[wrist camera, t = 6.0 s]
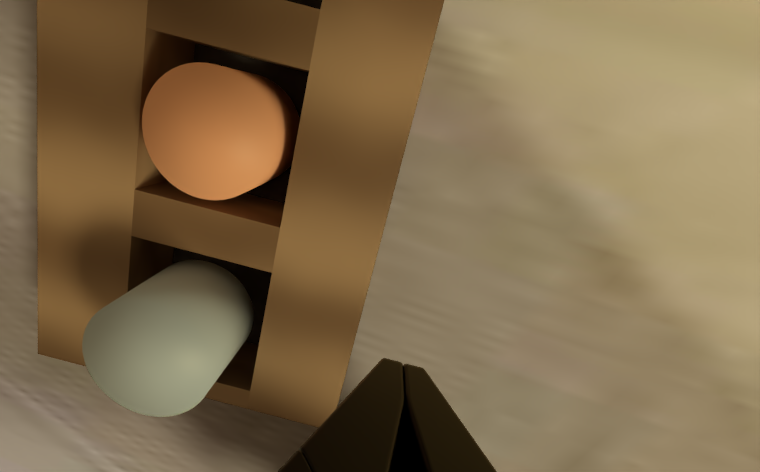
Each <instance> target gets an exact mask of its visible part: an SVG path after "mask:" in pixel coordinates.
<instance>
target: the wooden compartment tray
mask: <svg viewBox="0 0 760 472" xmlns="http://www.w3.org/2000/svg"><path fill="white" fill-rule="evenodd" d="M443 3H444V0H322V4H321V9H317V8H313V7H309V6H305V5H301V4H298V3H294V2H290V1H286V0H37V174H38V354H41V355H45V356H49V357H52V358H56V359H60V360H64V361H68V362H71V363H75V364H79V365H83V366H86V364H85V361H84V357H83V351H82V342H83V335H84V331H85V329H86V326H87V324H88V322H89V321H90V320H91V318H92V317H93V316H94V315H95V314H96V313H97V312H98V311H99V310H101V309H102V308H103V307H105V306H107V305H108V304H110V303H111V302H113V301H114V300H116V299H118V298H119V297H121V296H122V295H124V294H126V293H127V292H129V291H130V290H132V289H133V288H135V287H137V286H138V285H140V284H141V283H143V282H145V281H146V280H148V279H149V278H151V277H152V276H154V275H156V274H157V273H159V272H160V271H162V270H164V269H165V268H167V267H168V266H170V265H172V263H173V253H174V247H176V248H179V249H183V250H187V251H191V252H195V253H198V254H202V255H206V256H210V257H214V258H218V259H221V260H225V261H229V262H233V263H237V264H240V265H244V266H248V267H252V268H256V269H259V270H263V271H267V272H271V273H272V275H271V281H270V286H269V292H268V297H267V303H266V308H265V313H264V319H263V324H262V330H261V335H260V341H259V345H257V344H254V343H250V342H246V341H245V342H244V344H243V345H242V346H241V348H240V349H239V350H238V352H237V353H236V354H235V356H234V357H233V359H232V360H231V361H230V363H229V364H228V365H227V367H226V368H225V369H224V371H223V372H222V374H221V375H220V376H219V378H218V379H217V380H216V382H215V383H214V385H213V386H212V387H211V389H210V390H209V391H208V393H207V394H206V395H205V397H204V398H208V399H212V400H216V401H220V402H223V403H227V404H231V405H235V406H239V407H242V408H246V409H250V410H254V411H258V412H261V413H265V414H269V415H273V416H277V417H280V418H284V419H288V420H292V421H296V422H299V423H303V424H307V425H311V426H315V427H320V426H321V425H322V424H323V423H324V421H325V420H326V419H327V418H328V417H329V416H330V415H331V414H332V413H333V412H334V411H335V409H336V408H337V405H338V401H339V397H340V393H341V390H342V386H343V382H344V378H345V374H346V371H347V367H348V363H349V359H350V355H351V352H352V348H353V344H354V340H355V336H356V333H357V329H358V325H359V321H360V318H361V314H362V310H363V306H364V302H365V299H366V295H367V291H368V287H369V283H370V280H371V276H372V272H373V268H374V264H375V261H376V257H377V253H378V249H379V245H380V242H381V238H382V234H383V230H384V227H385V223H386V219H387V215H388V211H389V208H390V204H391V200H392V196H393V192H394V189H395V185H396V181H397V177H398V173H399V170H400V166H401V162H402V158H403V155H404V151H405V147H406V143H407V139H408V136H409V132H410V128H411V124H412V120H413V117H414V113H415V109H416V105H417V101H418V98H419V94H420V90H421V86H422V82H423V79H424V75H425V71H426V67H427V64H428V60H429V56H430V52H431V48H432V45H433V41H434V37H435V33H436V29H437V26H438V22H439V18H440V14H441V10H442V7H443ZM195 43H196V44H200V45H203V46H207V47H211V48H215V49H219V50H222V51H226V52H230V53H234V54H238V55H242V56H245V57H249V58H253V59H257V60H261V61H264V62H268V63H272V64H276V65H280V66H284V67H287V68H291V69H295V70H299V71H303V72H306V73H309V74H308V80H307V85H306V91H305V96H304V101H303V107H302V112H301V118H300V123H299V129H298V134H297V139H296V145H295V150H294V156H293V161H292V167H291V172H290V178H289V183H288V188H287V194H286V199H285V203H281V202H277V201H273V200H270V199H266V198H262V197H258V196H254V195H251V194H247V193H243V194H241V195H239V196H236V197H233V198H230V199H225V200H206V199H201V198H197V197H194V196H191V195H189V194H187V193H185V192H183V191H181V190H179V189H178V188H176V187H175V186H174V185H172V184H171V183H170V182H169V181H168V180H167V179H166V178H165V177H164V176H163V175H162V174H161V173H160V172H159V170H158V169H157V168H156V166H155V165H154V163H153V161H152V160H151V157H150V155H149V153H148V151H147V148H146V145H145V142H144V138H143V131H142V114H143V108H144V104H145V101H146V98H147V96H148V94H149V92H150V90H151V88H152V87H153V85H154V84H155V83H156V82H157V80H158V79H159V78H160V77H162V76H163V75H164V74H165V73H166V72H168V71H170V70H171V69H173V68H175V67H178V66H180V65H184V64H187V63H193V61H194V51H195Z"/></svg>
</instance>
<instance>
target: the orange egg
mask: <svg viewBox="0 0 760 472" xmlns="http://www.w3.org/2000/svg"><path fill="white" fill-rule="evenodd" d="M299 123H300V118H299V115H298V112H297V110H296V107H295V105H294V103H293V102H292V100H291V99H290V97H289V96H288V94H287V93H286V92H285V91H284V90H283V89H282V88H281V87H280V86H278V85H277V84H276V83H274V82H273V81H271V80H270V79H267V78H265V77H263V76H260V75H257V74H253V73H249V72H245V71H240V70H236V69H232V68H228V67H224V66H220V65H215V64H210V63H201V62H196V63H187V64H184V65H180V66H178V67H175V68H173V69H171V70H170V71H168V72H166V73H165V74H164V75H163V76H162V77H160V78H159V79H158V80H157V82H156V83H155V84H154V85H153V87H152V88H151V90H150V92H149V94H148V96H147V98H146V101H145V104H144V108H143V114H142V131H143V138H144V142H145V145H146V148H147V151H148V153H149V155H150V157H151V160H152V161H153V163H154V165H155V166H156V168H157V169H158V170H159V172H160V173H161V174H162V175H163V176H164V177H165V178H166V179H167V180H168V181H169V182H170V183H171V184H172V185H174V186H175V187H176V188H178V189H179V190H181V191H183V192H185V193H187V194H189V195H191V196H194V197H197V198H201V199H206V200H225V199H230V198H233V197H236V196H239V195H241V194H243V193H245V192H247V191H249V190H251V189H253V188H255V187H258V186H260V185H262V184H264V183H266V182H268V181H270V180H272V179H274V178H276V177H278V176H280V175H281V174H282V173H284V172H285V171H286V170H287V169H288V168H289V167H290V165H291V164H292V161H293V156H294V150H295V145H296V139H297V134H298V129H299Z"/></svg>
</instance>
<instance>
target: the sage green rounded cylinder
mask: <svg viewBox="0 0 760 472" xmlns="http://www.w3.org/2000/svg"><path fill="white" fill-rule="evenodd" d="M253 320H254V312H253V306H252V302H251V299H250V297H249V295H248V292H247V291H246V289H245V288H244V286H243V285H242V284H241V282H240V281H239V280H238V279H237V278H236V277H235V276H234V275H233V274H231V273H230V272H229V271H227V270H226V269H224V268H222V267H220V266H218V265H216V264H214V263H211V262H207V261H202V260H185V261H180V262H177V263H174V264H172V265H170V266H168V267H167V268H165V269H164V270H162V271H160V272H159V273H157V274H156V275H154V276H152V277H151V278H149V279H148V280H146V281H145V282H143V283H141V284H140V285H138V286H137V287H135V288H133V289H132V290H130V291H129V292H127V293H126V294H124V295H122V296H121V297H119V298H118V299H116V300H114V301H113V302H111V303H110V304H108V305H107V306H105V307H103V308H102V309H101V310H99V311H98V312H97V313H96V314H95V315H94V316H93V317H92V318H91V320H90V321H89V322H88V324H87V326H86V329H85V331H84V335H83V342H82V351H83V357H84V361H85V364H86V367H87V369H88V371H89V373H90V375H91V377H92V378H93V380H94V381H95V383H96V384H97V385H98V387H99V388H100V389H101V390H102V391H103V392H104V393H105V394H106V395H107V396H108V397H110V398H111V399H112V400H113V401H115V402H116V403H118V404H119V405H121V406H123V407H125V408H126V409H129V410H131V411H133V412H136V413H139V414H143V415H147V416H154V417H168V416H175V415H179V414H182V413H184V412H187V411H189V410H190V409H192V408H194V407H195V406H196V405H197V404H199V403H200V402H201V400H202V399H203V398H204V397H205V395H206V394H207V393H208V391H209V390H210V389H211V387H212V386H213V385H214V383H215V382H216V380H217V379H218V378H219V376H220V375H221V374H222V372H223V371H224V369H225V368H226V367H227V365H228V364H229V363H230V361H231V360H232V359H233V357H234V356H235V354H236V353H237V352H238V350H239V349H240V348H241V346H242V345H243V344H244V342H245V341H246V339H247V338H248V336H249V334H250V332H251V330H252V326H253Z"/></svg>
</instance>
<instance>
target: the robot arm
mask: <svg viewBox="0 0 760 472" xmlns="http://www.w3.org/2000/svg"><path fill="white" fill-rule="evenodd" d="M278 472H496V470H495V469H494V467H493V466H492V465H491V463H490V462H489V460H488V459H487V457H486V456H485V455H484V453H483V452H482V450H481V449H480V448H479V446H478V445H477V443H476V442H475V440H474V439H473V438H472V436H471V435H470V433H469V432H468V430H467V429H466V428H465V426H464V425H463V423H462V422H461V421H460V419H459V418H458V416H457V415H456V413H455V412H454V411H453V409H452V408H451V406H450V405H449V404H448V402H447V401H446V399H445V398H444V396H443V395H442V394H441V392H440V391H439V389H438V388H437V386H436V385H435V384H434V382H433V381H432V379H431V378H430V377H429V375H428V374H427V372H426V371H425V370H424V369H423V368H421V367H417V366H413V365H409V364H404V365H402V363H401V362H398V361H394V360H390V359H386V358H383V359H382V360H381V361H380V362H379V363H378V364H377V365H376V366H375V367H374V368H373V369H372V370H371V371H370V373H369V374H368V375H367V376H366V377H365V378H364V379H363V380H362V381H361V382H360V383H359V384H358V386H357V387H356V388H355V389H354V390H353V391H352V392H351V393H350V394H349V395H348V396H347V398H346V399H345V400H344V401H343V402H342V403H341V404H340V405H339V406H338V407H337V408H336V409H335V411H334V412H333V413H332V414H331V415H330V416H329V417H328V418H327V419H326V420H325V421H324V423H323V424H322V425H321V426H320V427H319V428H318V429H317V430H316V431H315V432H314V433H313V434H312V436H311V437H310V438H309V439H308V440H307V441H306V442H305V443H304V444H303V445H302V446H301V448H300V449H299V451H297V452H296V453H295V454H294V455H293V456H292V457H291V458H290V459H289V460H288V461H287V462H286V463H285V465H284V466H283V467H282V468H281V469H280V470H279V471H278Z"/></svg>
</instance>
